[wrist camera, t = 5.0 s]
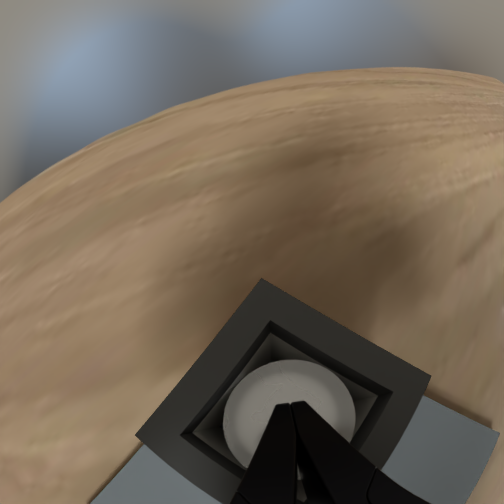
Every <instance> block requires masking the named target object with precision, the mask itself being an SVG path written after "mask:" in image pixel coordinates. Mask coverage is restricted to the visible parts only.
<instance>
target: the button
mask: <svg viewBox="0 0 504 504" xmlns="http://www.w3.org/2000/svg"><path fill="white" fill-rule="evenodd" d="M302 400H304V401H306V402H307V403H308V404H309V405H310V406H311V407H312V408H313V409H314V410H315V411H316V412H317V413H318V414H319V415H320V416H321V417H322V418H323V419H324V420H326V421H327V422H328V423H329V424H330V425H331V426H332V427H333V428H334V429H335V430H336V431H337V432H338V433H339V434H340V435H341V436H343V437H344V438H345V439H346V440H347V441H348V442H349V443H350V441H351V439H352V436H353V432H354V428H355V408H354V403H353V400H352V397H351V395H350V393H349V391H348V389H347V388H346V386H345V385H344V383H343V382H342V381H341V380H340V379H339V378H338V377H337V376H336V375H335V374H334V373H332V372H331V371H329V370H328V369H326V368H324V367H322V366H320V365H318V364H315V363H312V362H308V361H304V360H281V361H276V362H272V363H269V364H266V365H264V366H261V367H259V368H257V369H256V370H254V371H252V372H251V373H249V374H248V375H247V376H246V377H245V378H243V379H242V380H241V381H240V382H239V384H238V385H237V386H236V387H235V388H234V390H233V391H232V393H231V395H230V397H229V399H228V401H227V404H226V407H225V411H224V416H223V429H224V435H225V439H226V442H227V444H228V447H229V449H230V450H231V452H232V454H233V455H234V456H235V458H236V459H237V460H238V461H239V462H240V463H241V464H242V465H243V466H244V467H245V468H247V467H248V465H249V463H250V461H251V459H252V457H253V455H254V453H255V450H256V448H257V446H258V444H259V442H260V439H261V437H262V435H263V433H264V430H265V428H266V426H267V423H268V421H269V419H270V416H271V414H272V411H273V409H274V407H275V405H276V404H281V403H290V404H291V403H292V402H295V401H302ZM297 480H301V477H300V474H299V470H298V466H297Z"/></svg>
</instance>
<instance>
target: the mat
mask: <svg viewBox="0 0 504 504" xmlns="http://www.w3.org/2000/svg"><path fill="white" fill-rule="evenodd" d="M272 362H274V361H272V360H270V362H269V363H272ZM269 363H268V364H269ZM220 428H221V429H223V423H222V424H221V425H220ZM223 430H224V429H223ZM499 434H500V433H499V432H497V431H495V430H492V429H490V428H488V427H486V426H484V425H482V424H480V423H478V422H476V421H474V420H471V419H469V418H467V417H465V416H463V415H461V414H459V413H457V412H455V411H453V410H451V409H449V408H447V407H445V406H443V405H441V404H440V403H438V402H436V401H434V400H432V399H430V398H428V397H426V396H424V395H423V396H422V399H421V401H420V403H419V405H418V407H417V409H416V411H415V413H414V415H413V417H412V419H411V421H410V423H409V425H408V426H407V428H406V430H405V432H404V434H403V436H402V437H401V439H400V441H399V443H398V444H397V446H396V448H395V449H394V451H393V453H392V454H391V456H390V457H389V459H388V461H387V462H386V464H385V465H384V467H383V468H382V470H381V471H382V472H384V473H385V474H386V475H387V476H388V477H390V478H391V479H392V480H394V481H395V482H396V483H398V484H399V485H400V486H402V487H403V488H405V489H407V490H408V491H410V492H411V493H413V494H415V495H416V496H418V497H420V498H422V499H424V500H425V501H427V502H429V503H431V504H465V503H466V501H467V499H468V498H469V496H470V494H471V493H472V491H473V489H474V487H475V486H476V484H477V482H478V480H479V478H480V476H481V474H482V472H483V470H484V468H485V466H486V464H487V462H488V460H489V458H490V456H491V454H492V451H493V449H494V447H495V444H496V442H497V439H498V437H499ZM90 504H222V503H220V502H219V501H217V500H216V499H214V498H213V497H211V496H210V495H208V494H207V493H205V492H204V491H202V490H201V489H199V488H198V487H197V486H195V485H194V484H192V483H191V482H190V481H188V480H187V479H186V478H184V477H183V476H182V475H180V474H179V473H178V472H177V471H175V470H174V469H173V468H172V467H170V466H169V465H168V464H167V463H165V462H164V461H163V460H162V459H161V458H160V457H158V456H157V455H156V454H155V453H154V452H153V451H151V450H150V449H149V448H148V447H147V446H146V445H145V444H144V445H143V446H142V447H141V448H140V449H139V450H138V451H137V453H136V454H135V455H134V456H133V457H132V458H131V459H130V461H129V462H128V463H127V464H126V465H125V466H124V467H123V468H122V470H121V471H120V472H119V473H118V474H117V475H116V476H115V477H114V478H113V479H112V481H111V482H110V483H109V484H108V485H107V486H106V487H105V488H104V489H103V490H102V491H101V493H100V494H99V495H98V496H97V497H96V498H95V499H94V500H93V501H92V502H91V503H90Z"/></svg>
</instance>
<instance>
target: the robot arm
mask: <svg viewBox="0 0 504 504" xmlns="http://www.w3.org/2000/svg"><path fill="white" fill-rule="evenodd" d="M297 466H298V470H299V474H300V477H301V481H302V484H303V487H304V491H305V494H306V497H307V500H308V503H309V504H431V503H429V502H427V501H425V500H424V499H422V498H420V497H418V496H416V495H415V494H413V493H411V492H410V491H408V490H407V489H405V488H403V487H402V486H400V485H399V484H398V483H396V482H395V481H394V480H392V479H391V478H390V477H388V476H387V475H386V474H385V473H384V472H382V471H381V470H380V469H379V468H377V469H376V466H375V465H374V464H373V463H372V462H370V461H369V460H368V459H367V458H366V457H365V456H364V455H363V454H361V453H360V452H359V451H358V450H357V449H356V448H355V447H354V446H352V445H351V444H350V443H349V442H348V441H347V440H346V439H345V438H344V437H343V436H341V435H340V434H339V433H338V432H337V431H336V430H335V429H334V428H333V427H332V426H331V425H330V424H329V423H328V422H327V421H326V420H324V419H323V418H322V417H321V416H320V415H319V414H318V413H317V412H316V411H315V410H314V409H313V408H312V407H311V406H310V405H309V404H308V403H307V402H306V401H304V400H302V401H295V402H292V403H291V404H290V403H281V404H276V405H275V407H274V409H273V411H272V414H271V416H270V419H269V421H268V423H267V426H266V428H265V430H264V433H263V435H262V437H261V439H260V442H259V444H258V446H257V448H256V450H255V453H254V455H253V457H252V459H251V461H250V463H249V465H248V467H247V470H246V472H245V474H244V476H243V478H242V480H241V482H240V484H239V486H238V488H237V492H235V493H234V495H233V497H232V499H231V501H230V503H229V504H297Z"/></svg>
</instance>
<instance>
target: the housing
mask: <svg viewBox="0 0 504 504" xmlns="http://www.w3.org/2000/svg"><path fill="white" fill-rule="evenodd" d="M270 360H272V361H274V362H276V361H281V360H304V361H308V362H312V363H315V364H318V365H320V366H322V367H324V368H326V369H328V370H329V371H331V372H332V373H334V374H335V375H336V376H337V377H338V378H339V379H340V380H341V381H342V382H343V383H344V385H345V386H346V388H347V389H348V391H349V393H350V395H351V397H352V400H353V403H354V408H355V428H354V432H353V436H352V439H351V441H350V444H351V445H352V446H354V447H355V448H356V449H357V450H358V451H359V452H360V453H361V454H363V455H364V456H365V457H366V458H367V459H368V460H369V461H370V462H372V463H373V464H374V465H375V466H376V469H377V468H379V469H380V470H382V468H383V467H384V465H385V464H386V462H387V461H388V459H389V457H390V456H391V454H392V453H393V451H394V449H395V448H396V446H397V444H398V443H399V441H400V439H401V437H402V436H403V434H404V432H405V430H406V428H407V426H408V425H409V423H410V421H411V419H412V417H413V415H414V413H415V411H416V409H417V407H418V405H419V403H420V401H421V399H422V396H423V394H424V392H425V390H426V388H427V385H428V383H429V381H430V378H431V375H429V374H427V373H425V372H424V371H422V370H420V369H418V368H416V367H415V366H413V365H411V364H409V363H407V362H406V361H404V360H402V359H400V358H398V357H397V356H395V355H393V354H391V353H390V352H388V351H386V350H384V349H382V348H381V347H379V346H377V345H375V344H374V343H372V342H370V341H368V340H367V339H365V338H363V337H361V336H360V335H358V334H356V333H354V332H353V331H351V330H349V329H347V328H346V327H344V326H342V325H340V324H339V323H337V322H335V321H334V320H332V319H330V318H328V317H327V316H325V315H323V314H322V313H320V312H318V311H316V310H315V309H313V308H311V307H310V306H308V305H306V304H304V303H303V302H301V301H299V300H298V299H296V298H294V297H293V296H291V295H289V294H287V293H286V292H284V291H282V290H281V289H279V288H277V287H276V286H274V285H272V284H271V283H269V282H267V281H266V280H264V279H262V278H261V279H260V281H259V282H258V283H257V285H256V286H255V287H254V288H253V290H252V291H251V292H250V294H249V295H248V296H247V297H246V299H245V300H244V301H243V303H242V304H241V305H240V306H239V308H238V309H237V310H236V312H235V313H234V314H233V315H232V317H231V318H230V319H229V320H228V322H227V323H226V324H225V326H224V327H223V328H222V329H221V331H220V332H219V333H218V334H217V336H216V337H215V338H214V339H213V341H212V342H211V343H210V344H209V346H208V347H207V348H206V349H205V351H204V352H203V353H202V354H201V356H200V357H199V358H198V359H197V361H196V362H195V363H194V364H193V365H192V367H191V368H190V369H189V370H188V372H187V373H186V374H185V375H184V377H183V378H182V379H181V380H180V381H179V383H178V384H177V385H176V386H175V388H174V389H173V390H172V391H171V392H170V394H169V395H168V396H167V397H166V398H165V400H164V401H163V402H162V403H161V404H160V406H159V407H158V408H157V409H156V410H155V412H154V413H153V414H152V415H151V416H150V418H149V419H148V420H147V421H146V422H145V424H144V425H143V426H142V427H141V428H140V429H139V431H138V432H137V433H136V434H135V436H136V437H137V438H138V439H139V440H141V441H142V442H143V443H144V444H145V445H146V446H147V447H148V448H149V449H150V450H151V451H153V452H154V453H155V454H156V455H157V456H158V457H160V458H161V459H162V460H163V461H164V462H165V463H167V464H168V465H169V466H170V467H172V468H173V469H174V470H175V471H177V472H178V473H179V474H180V475H182V476H183V477H184V478H186V479H187V480H188V481H190V482H191V483H192V484H194V485H195V486H197V487H198V488H199V489H201V490H202V491H204V492H205V493H207V494H208V495H210V496H211V497H213V498H214V499H216V500H217V501H219V502H220V503H222V504H229V503H230V501H231V499H232V497H233V495H234V493H235V492H237V488H238V486H239V484H240V482H241V480H242V478H243V476H244V474H245V472H246V470H247V468H245V467H244V466H243V465H242V464H241V463H240V462H239V461H238V460H237V459H236V458H235V456H234V455H233V454H232V452H231V450H230V449H229V447H228V444H227V442H226V439H225V435H224V430H223V429H221V428H220V425H221V424H222V423H223V416H224V411H225V407H226V404H227V401H228V399H229V397H230V395H231V393H232V391H233V390H234V388H235V387H236V386H237V385H238V384H239V382H240V381H241V380H242V379H243V378H245V377H246V376H247V375H248V374H249V373H251V372H252V371H254V370H256V369H257V368H259V367H261V366H264V365H266V364H268V363H269V362H270ZM297 504H309V503H308V500H307V497H306V494H305V491H304V487H303V484H302V481H301V480H297Z"/></svg>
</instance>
